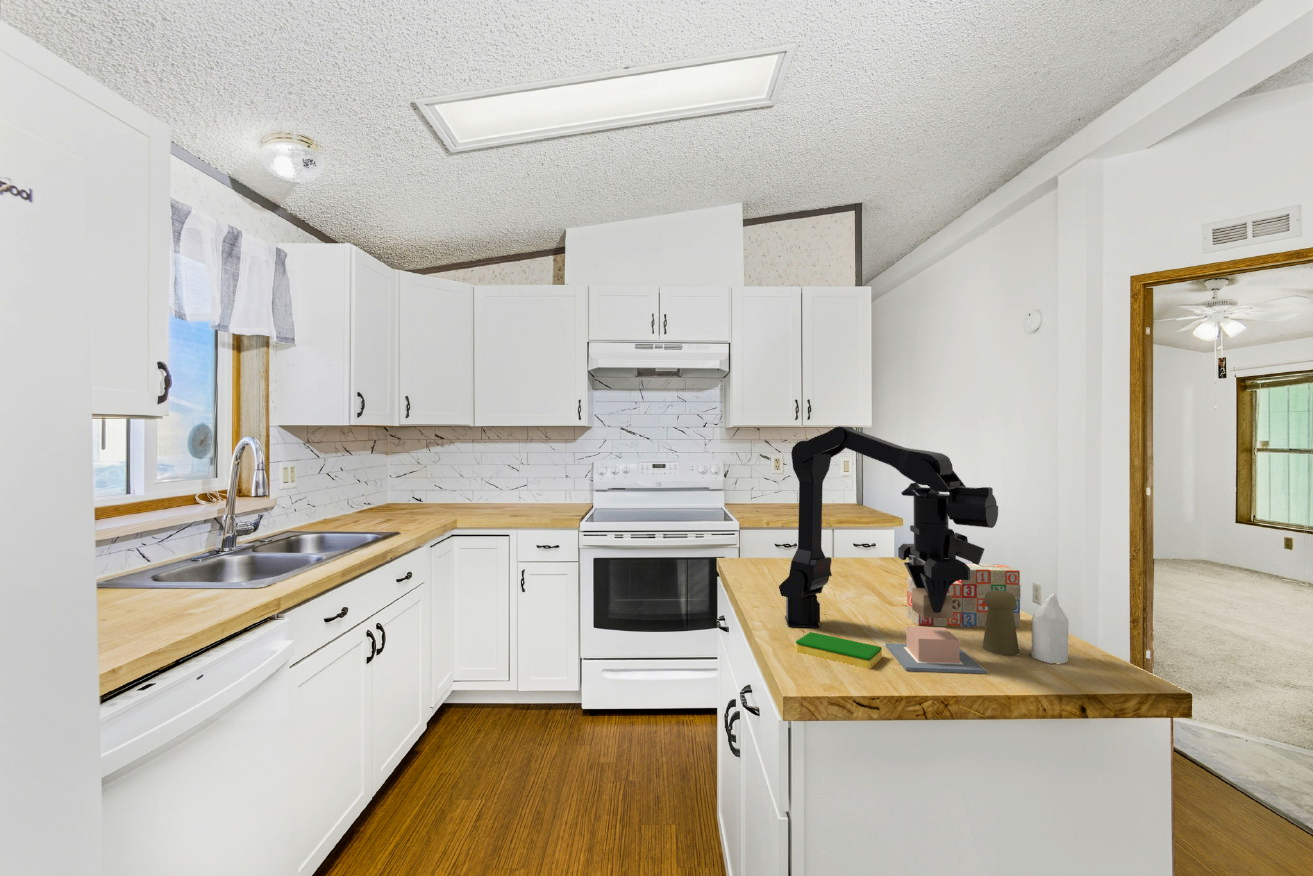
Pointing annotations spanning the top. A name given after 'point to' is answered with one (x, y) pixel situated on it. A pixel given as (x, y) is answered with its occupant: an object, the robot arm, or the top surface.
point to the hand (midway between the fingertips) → (931, 608)
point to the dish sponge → (839, 650)
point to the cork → (1000, 624)
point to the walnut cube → (929, 605)
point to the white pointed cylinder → (1050, 632)
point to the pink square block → (932, 644)
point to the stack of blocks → (973, 596)
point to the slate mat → (914, 665)
